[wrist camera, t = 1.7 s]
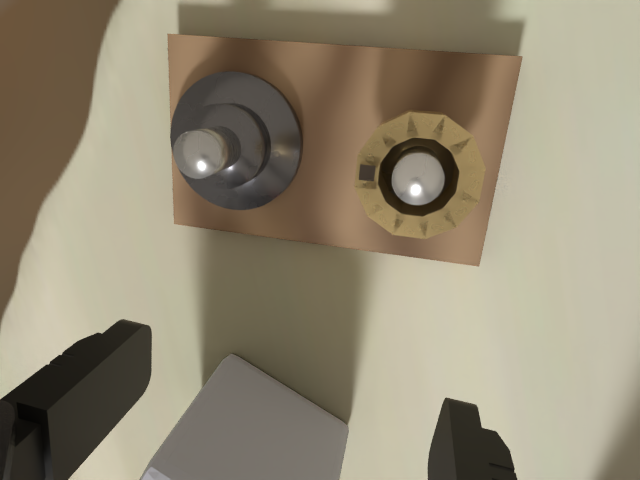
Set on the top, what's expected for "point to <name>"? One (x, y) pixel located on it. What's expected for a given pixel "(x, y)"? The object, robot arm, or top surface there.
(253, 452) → the soap bottle
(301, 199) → the walnut board
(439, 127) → the brass ring
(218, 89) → the graphite hub
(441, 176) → the stepped silver cylinder
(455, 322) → the top surface
